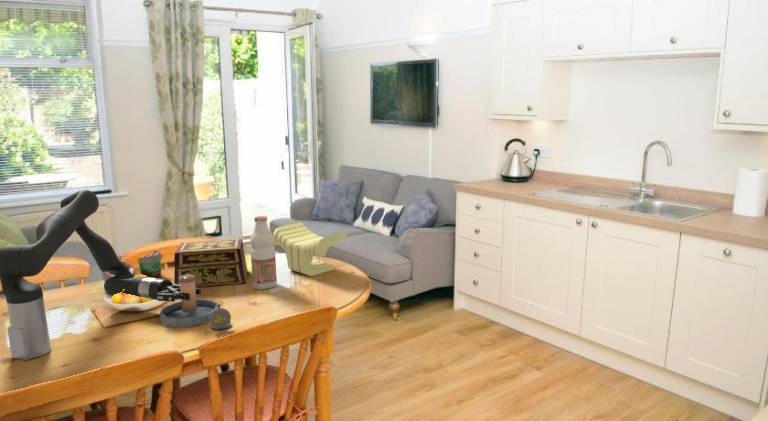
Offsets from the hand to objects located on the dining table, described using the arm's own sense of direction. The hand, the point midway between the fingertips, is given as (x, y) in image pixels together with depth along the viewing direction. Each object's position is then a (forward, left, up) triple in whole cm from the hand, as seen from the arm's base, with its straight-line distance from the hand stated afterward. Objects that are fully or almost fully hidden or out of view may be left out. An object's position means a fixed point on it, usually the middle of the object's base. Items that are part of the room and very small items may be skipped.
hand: (194, 294), depth 195 cm
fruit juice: (+36, -4, -9) cm, 37 cm away
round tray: (0, +3, -8) cm, 9 cm away
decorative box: (+36, +21, -9) cm, 42 cm away
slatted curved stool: (+60, -12, -9) cm, 62 cm away
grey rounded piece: (-5, -14, -9) cm, 17 cm away
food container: (+31, +47, -9) cm, 57 cm away
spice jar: (0, +3, -6) cm, 7 cm away
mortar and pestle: (+16, +51, -9) cm, 54 cm away
